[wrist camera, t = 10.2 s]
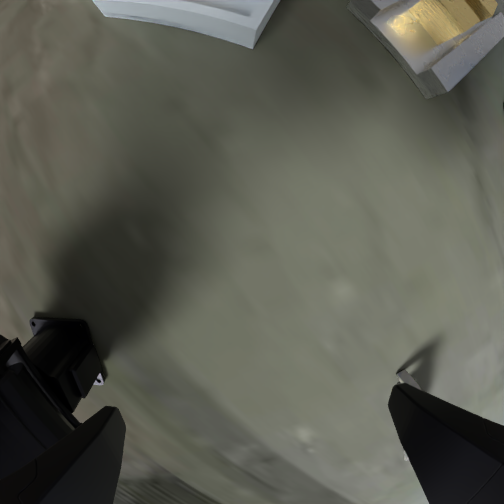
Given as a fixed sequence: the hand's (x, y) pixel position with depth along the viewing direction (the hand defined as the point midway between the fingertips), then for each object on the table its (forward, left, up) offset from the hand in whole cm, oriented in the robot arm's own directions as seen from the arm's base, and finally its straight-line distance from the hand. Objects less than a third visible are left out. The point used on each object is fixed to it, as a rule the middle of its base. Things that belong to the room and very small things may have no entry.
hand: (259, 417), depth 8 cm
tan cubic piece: (+18, +22, -12) cm, 31 cm away
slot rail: (+20, +24, -13) cm, 34 cm away
